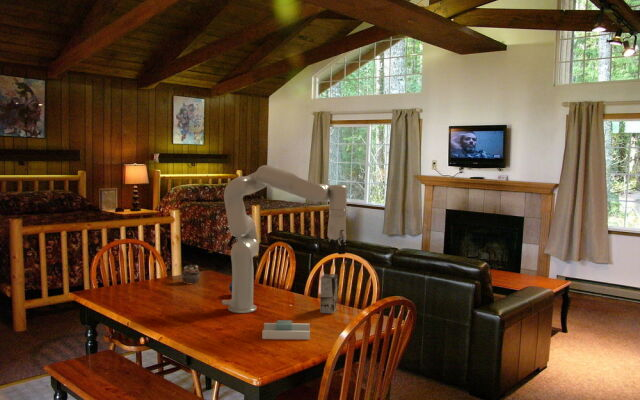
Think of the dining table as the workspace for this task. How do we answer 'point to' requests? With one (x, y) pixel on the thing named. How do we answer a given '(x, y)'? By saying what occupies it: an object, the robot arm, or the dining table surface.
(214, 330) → the dining table surface
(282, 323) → the block
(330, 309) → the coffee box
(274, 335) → the trough
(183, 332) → the dining table surface
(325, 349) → the dining table surface
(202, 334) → the dining table surface
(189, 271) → the cupcake
